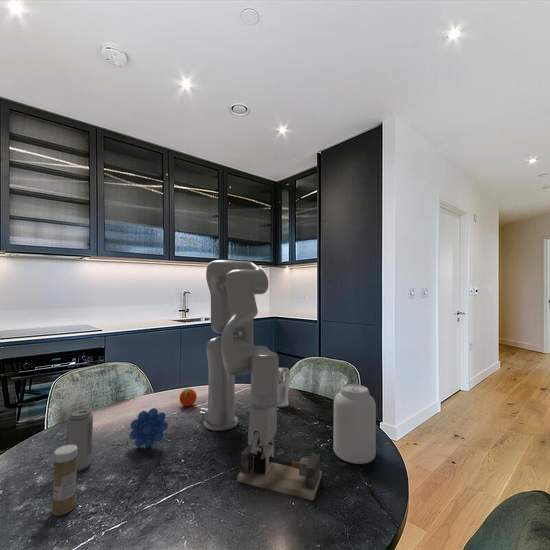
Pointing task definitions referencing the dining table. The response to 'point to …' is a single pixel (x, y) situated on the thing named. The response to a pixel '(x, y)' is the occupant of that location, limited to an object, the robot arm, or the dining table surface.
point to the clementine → (188, 397)
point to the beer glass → (283, 386)
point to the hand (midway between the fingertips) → (263, 465)
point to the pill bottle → (64, 479)
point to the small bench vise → (284, 475)
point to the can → (354, 424)
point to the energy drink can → (81, 436)
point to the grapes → (148, 428)
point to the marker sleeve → (268, 453)
